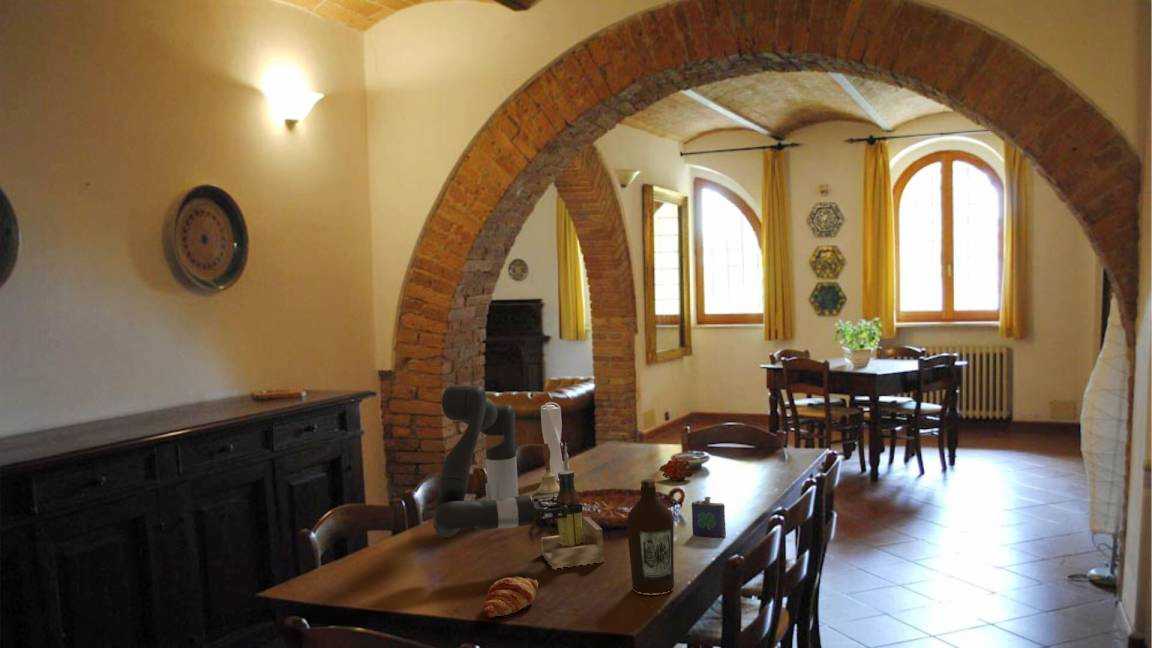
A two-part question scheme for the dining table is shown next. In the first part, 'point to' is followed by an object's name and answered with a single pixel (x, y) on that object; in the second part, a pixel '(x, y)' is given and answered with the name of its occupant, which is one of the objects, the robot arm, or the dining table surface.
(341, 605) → the dining table surface
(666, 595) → the dining table surface
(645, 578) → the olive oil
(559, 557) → the light wooden holder
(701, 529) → the flask
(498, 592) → the croissant
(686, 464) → the dragon fruit
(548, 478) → the hand bell
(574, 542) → the sauce bottle
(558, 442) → the skyscraper
